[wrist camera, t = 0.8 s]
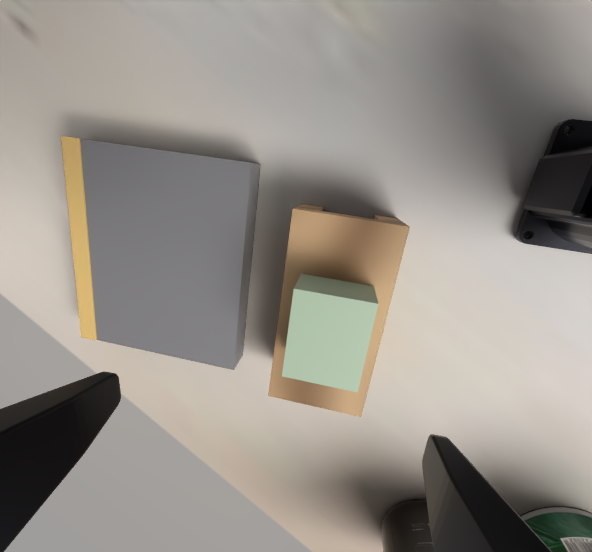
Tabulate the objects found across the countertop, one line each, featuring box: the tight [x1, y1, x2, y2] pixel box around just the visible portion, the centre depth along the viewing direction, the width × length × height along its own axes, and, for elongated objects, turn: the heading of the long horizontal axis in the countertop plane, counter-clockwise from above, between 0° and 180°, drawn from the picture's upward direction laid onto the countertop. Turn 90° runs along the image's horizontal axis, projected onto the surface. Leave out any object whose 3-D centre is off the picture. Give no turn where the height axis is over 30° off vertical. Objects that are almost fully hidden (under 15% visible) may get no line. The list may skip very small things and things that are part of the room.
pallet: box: [268, 204, 410, 417], centre depth 19 cm, size 6×12×4 cm, turn 172°
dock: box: [61, 136, 260, 370], centre depth 21 cm, size 12×14×2 cm
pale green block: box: [282, 274, 378, 393], centre depth 16 cm, size 4×5×2 cm
